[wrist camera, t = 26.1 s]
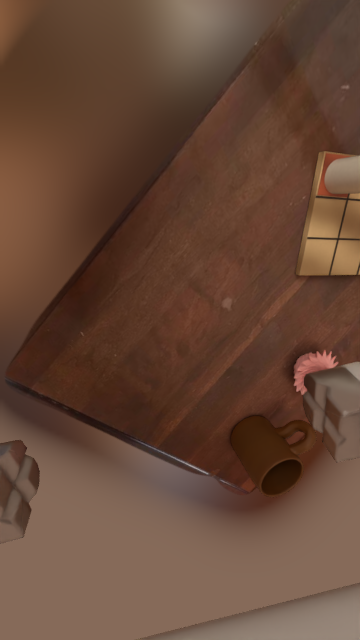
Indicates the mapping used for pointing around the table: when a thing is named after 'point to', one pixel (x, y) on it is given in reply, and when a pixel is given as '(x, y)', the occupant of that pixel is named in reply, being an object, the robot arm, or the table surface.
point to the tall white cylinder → (343, 176)
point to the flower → (311, 367)
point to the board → (330, 228)
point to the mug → (272, 453)
